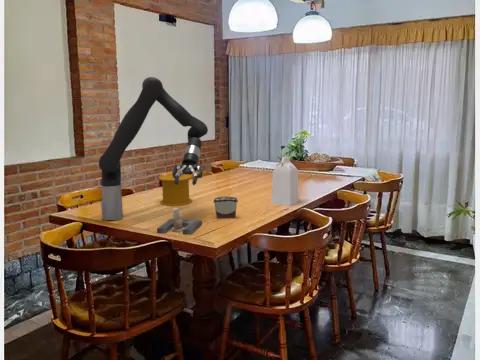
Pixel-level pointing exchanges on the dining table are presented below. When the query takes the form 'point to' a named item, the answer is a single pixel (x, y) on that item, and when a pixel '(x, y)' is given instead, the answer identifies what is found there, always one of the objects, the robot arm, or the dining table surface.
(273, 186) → the milk
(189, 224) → the notched board
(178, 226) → the bobbin
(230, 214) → the food container
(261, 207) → the dining table surface
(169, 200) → the spool
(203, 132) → the robot arm
